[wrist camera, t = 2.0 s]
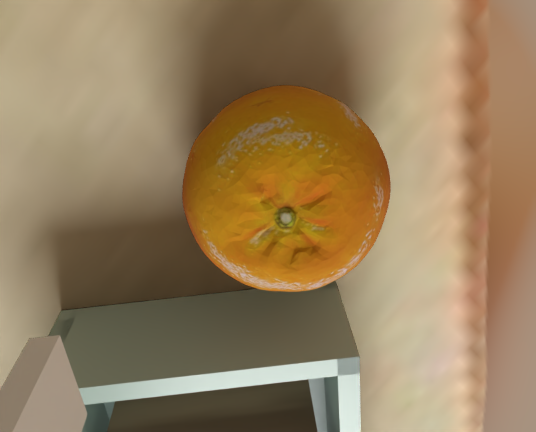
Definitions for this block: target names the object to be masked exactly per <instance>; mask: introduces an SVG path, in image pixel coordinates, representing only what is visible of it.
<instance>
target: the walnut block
mask: <svg viewBox="0 0 536 432" xmlns="http://www.w3.org/2000/svg"><path fill="white" fill-rule="evenodd" d="M107 432H317V426H316V420H315V415H314V409H313V404H312V398H311V392H310V387H309V381H308V379H307V380H298V381H289V382H280V383H272V384H263V385H254V386H246V387H237V388H228V389H219V390H211V391H202V392H193V393H184V394H176V395H167V396H158V397H149V398H141V399H132V400H123V401H115V404H114V408H113V411H112V415H111V418H110V422H109V426H108V429H107Z"/></svg>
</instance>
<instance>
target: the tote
mask: <svg viewBox="0 0 536 432" xmlns="http://www.w3.org/2000/svg"><path fill="white" fill-rule="evenodd" d="M56 335H60V337H61V340H62V343H63V345H64V348H65V351H66V354H67V357H68V360H69V363H70V365H71V368H72V371H73V374H74V377H75V380H76V382H77V385H78V388H79V391H80V394H81V397H82V399H83V402H84V405H85V408H86V411H87V417H86V420H85V423H84V426H83V429H82V432H107V429H108V426H109V422H110V418H111V415H112V411H113V408H114V404H115V401H123V400H132V399H141V398H149V397H158V396H167V395H176V394H184V393H193V392H202V391H211V390H219V389H228V388H237V387H246V386H254V385H263V384H272V383H280V382H289V381H298V380H307V379H308V381H309V387H310V392H311V398H312V404H313V409H314V415H315V420H316V426H317V432H361V420H360V356H359V353H358V350H357V347H356V344H355V340H354V337H353V334H352V331H351V328H350V325H349V322H348V319H347V315H346V312H345V309H344V306H343V303H342V300H341V297H340V294H339V290H338V287H337V284H336V281H333V282H331V283H329V284H327V285H325V286H322V287H320V288H317V289H313V290H308V291H300V292H286V291H268V290H261V289H250V290H241V291H232V292H223V293H214V294H205V295H196V296H187V297H178V298H169V299H160V300H152V301H143V302H134V303H125V304H116V305H107V306H98V307H89V308H80V309H71V310H62V311H61V312H60V314H59V316H58V318H57V320H56V322H55V324H54V326H53V328H52V330H51V332H50V334H49V336H56Z"/></svg>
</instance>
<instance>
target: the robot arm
mask: <svg viewBox="0 0 536 432" xmlns="http://www.w3.org/2000/svg"><path fill="white" fill-rule="evenodd" d="M86 417H87V411H86V408H85V405H84V402H83V399H82V397H81V394H80V391H79V388H78V385H77V382H76V380H75V377H74V374H73V371H72V368H71V365H70V363H69V360H68V357H67V354H66V351H65V348H64V345H63V343H62V340H61V337H60V335H56V336H47V337H38V338H29V340H28V342H27V343H26V345H25V347H24V349H23V350H22V352H21V354H20V356H19V358H18V359H17V361H16V363H15V365H14V366H13V368H12V370H11V372H10V373H9V375H8V377H7V379H6V380H5V382H4V384H3V386H2V387H1V389H0V432H82V429H83V426H84V423H85V420H86Z"/></svg>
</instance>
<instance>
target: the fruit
mask: <svg viewBox="0 0 536 432" xmlns="http://www.w3.org/2000/svg"><path fill="white" fill-rule="evenodd" d="M182 198H183V207H184V211H185V215H186V218H187V221H188V224H189V227H190V229H191V231H192V233H193V235H194V237H195V240H196V242H197V243H198V245H199V246H200V248H201V250H202V251H203V252H204V253H205V255H206V256H207V257H208V258H209V259H210V260H211V261H212V262H213V263H214V264H215V265H216V266H217V267H218V268H220V269H221V270H222V271H223V272H225V273H226V274H227V275H229V276H231V277H232V278H234V279H236V280H237V281H239V282H241V283H243V284H245V285H248V286H251V287H254V288H257V289H261V290H268V291H286V292H300V291H308V290H313V289H317V288H320V287H322V286H325V285H327V284H329V283H331V282H333V281H335V280H337V279H339V278H340V277H342V276H344V275H345V274H347V273H348V272H349V271H351V270H352V269H353V268H355V267H356V266H357V265H358V264H359V263H360V262H361V260H362V259H363V258H364V257H365V256H366V254H367V253H368V252H369V250H370V249H371V248H372V246H373V245H374V243H375V241H376V239H377V237H378V234H379V232H380V230H381V227H382V224H383V221H384V218H385V215H386V212H387V208H388V204H389V199H390V175H389V169H388V165H387V161H386V159H385V156H384V153H383V151H382V149H381V147H380V145H379V143H378V141H377V139H376V137H375V136H374V134H373V133H372V131H371V130H370V129H369V127H368V126H367V125H366V124H365V123H364V122H363V121H362V120H361V119H360V118H359V117H358V116H357V115H356V114H355V113H354V112H353V111H352V110H351V109H350V108H349V107H347V106H346V105H345V104H343V103H342V102H340V101H339V100H336V99H334V98H332V97H330V96H327V95H325V94H323V93H321V92H318V91H316V90H312V89H309V88H305V87H300V86H291V85H280V86H272V87H268V88H264V89H260V90H257V91H254V92H251V93H249V94H247V95H244V96H242V97H241V98H239V99H237V100H235V101H233V102H232V103H230V104H229V105H228V106H226V107H225V108H223V110H222V111H221V112H220V113H219V114H218V115H217V116H216V117H215V118H213V119H212V121H211V122H210V124H209V125H208V126H207V127H206V128H205V129H204V130H203V131H202V132H201V133H200V134H199V136H198V137H197V139H196V140H195V142H194V144H193V146H192V148H191V151H190V154H189V157H188V160H187V163H186V169H185V174H184V179H183V192H182Z"/></svg>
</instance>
